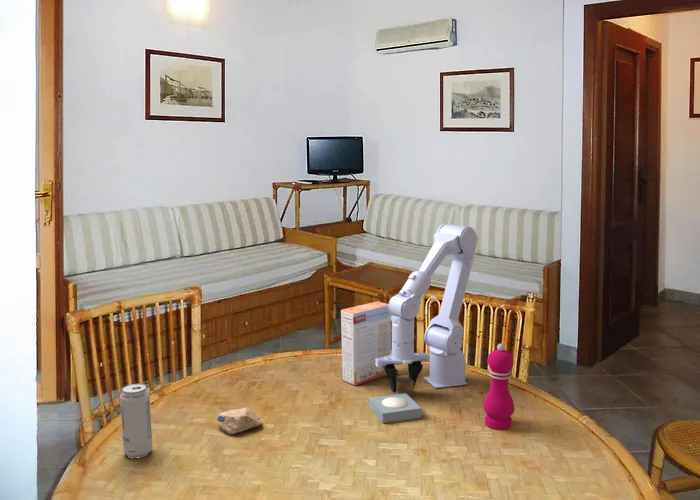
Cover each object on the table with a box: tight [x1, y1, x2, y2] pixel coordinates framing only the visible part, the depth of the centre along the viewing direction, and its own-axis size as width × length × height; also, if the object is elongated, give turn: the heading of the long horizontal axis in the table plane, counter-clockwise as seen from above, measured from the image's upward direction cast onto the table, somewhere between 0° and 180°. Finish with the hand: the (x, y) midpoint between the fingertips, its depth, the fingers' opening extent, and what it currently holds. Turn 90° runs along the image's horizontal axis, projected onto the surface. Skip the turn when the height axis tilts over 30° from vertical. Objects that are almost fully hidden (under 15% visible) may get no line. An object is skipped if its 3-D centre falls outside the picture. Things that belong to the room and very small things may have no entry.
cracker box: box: [340, 301, 392, 387], centre depth 190 cm, size 14×6×21 cm, turn 130°
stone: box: [216, 406, 263, 435], centre depth 160 cm, size 8×10×4 cm
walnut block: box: [390, 374, 415, 399], centre depth 179 cm, size 4×4×4 cm
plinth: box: [368, 393, 422, 424], centre depth 168 cm, size 10×10×3 cm
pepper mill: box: [482, 343, 515, 431], centre depth 159 cm, size 7×7×20 cm
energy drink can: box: [119, 383, 153, 459], centre depth 146 cm, size 6×6×15 cm
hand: (402, 389), depth 179 cm, fingers closed on walnut block, 4 cm apart
